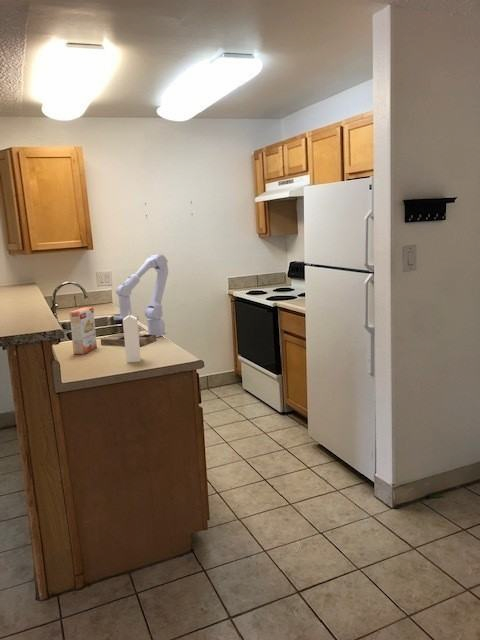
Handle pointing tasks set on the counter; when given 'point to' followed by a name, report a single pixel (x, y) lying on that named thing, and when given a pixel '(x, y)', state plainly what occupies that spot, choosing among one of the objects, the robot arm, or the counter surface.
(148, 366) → the counter surface
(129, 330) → the milk
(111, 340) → the trap board
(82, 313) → the cracker box
